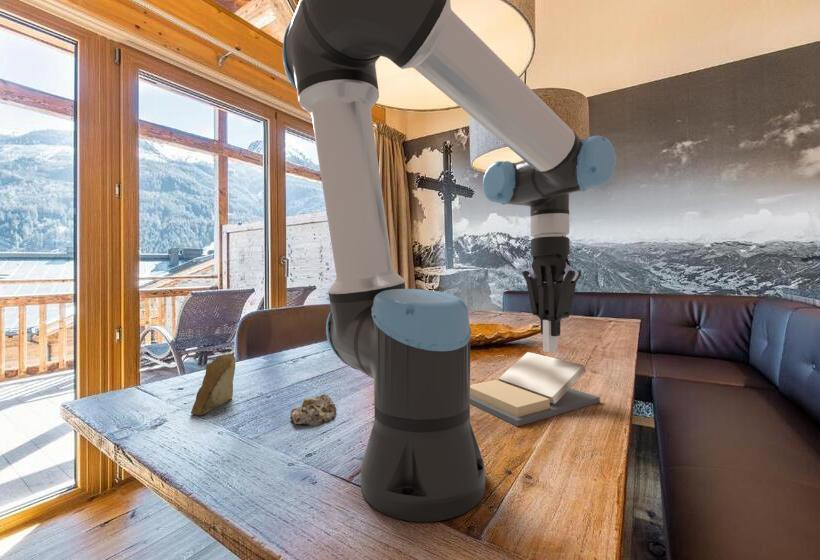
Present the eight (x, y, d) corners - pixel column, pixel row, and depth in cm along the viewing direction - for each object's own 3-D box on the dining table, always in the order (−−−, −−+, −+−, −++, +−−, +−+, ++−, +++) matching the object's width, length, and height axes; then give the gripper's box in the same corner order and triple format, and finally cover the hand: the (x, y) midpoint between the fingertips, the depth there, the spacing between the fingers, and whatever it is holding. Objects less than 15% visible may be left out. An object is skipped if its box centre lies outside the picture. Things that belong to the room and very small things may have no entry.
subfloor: (517, 426, 62) (517, 410, 62) (459, 398, 76) (458, 385, 76) (599, 402, 73) (599, 388, 73) (535, 381, 87) (535, 370, 86)
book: (554, 403, 68) (552, 397, 67) (500, 384, 80) (498, 378, 80) (585, 371, 72) (583, 365, 72) (530, 357, 84) (527, 351, 84)
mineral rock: (325, 416, 62) (283, 400, 63) (318, 441, 62) (277, 424, 64) (350, 397, 72) (313, 383, 74) (344, 418, 72) (308, 404, 74)
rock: (204, 408, 65) (253, 385, 74) (181, 367, 67) (232, 350, 76) (183, 432, 71) (231, 408, 79) (163, 394, 72) (212, 375, 81)
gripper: (590, 234, 73) (590, 354, 73) (537, 240, 84) (538, 344, 85) (564, 233, 69) (565, 359, 70) (513, 239, 80) (514, 347, 81)
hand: (550, 351), depth 77 cm, fingers closed
